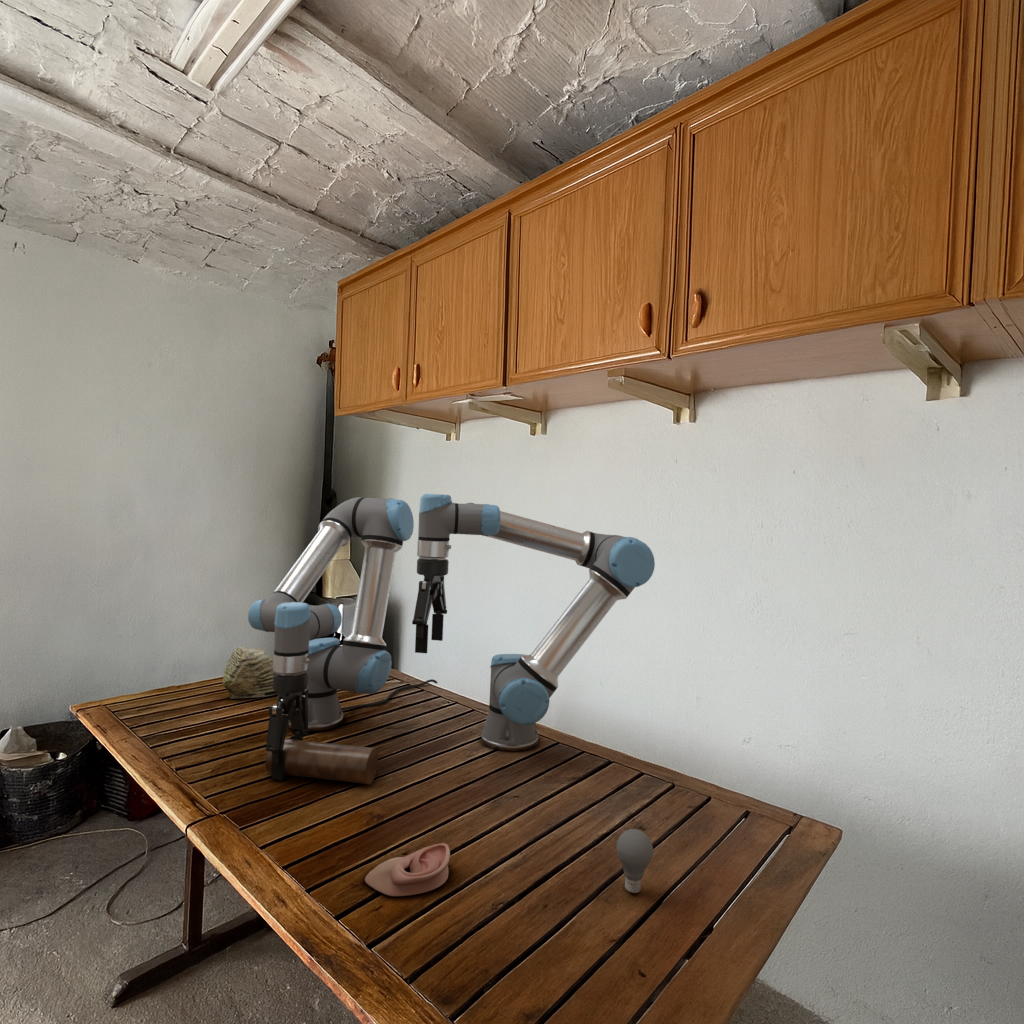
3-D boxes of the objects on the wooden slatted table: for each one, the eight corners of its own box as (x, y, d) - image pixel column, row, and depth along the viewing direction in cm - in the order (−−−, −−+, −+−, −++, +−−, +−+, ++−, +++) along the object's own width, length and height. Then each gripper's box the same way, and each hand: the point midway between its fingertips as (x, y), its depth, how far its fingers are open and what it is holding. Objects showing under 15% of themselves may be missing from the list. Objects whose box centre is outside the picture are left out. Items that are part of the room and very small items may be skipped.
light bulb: (610, 879, 108) (613, 822, 108) (644, 879, 109) (647, 822, 109) (619, 902, 102) (622, 840, 102) (655, 901, 103) (658, 840, 103)
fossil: (218, 695, 195) (220, 647, 195) (278, 685, 208) (279, 640, 207) (228, 703, 189) (230, 653, 188) (289, 692, 201) (290, 645, 201)
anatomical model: (357, 866, 102) (385, 830, 114) (356, 890, 102) (384, 852, 114) (435, 879, 100) (456, 841, 111) (434, 904, 100) (455, 864, 111)
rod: (264, 778, 141) (265, 745, 141) (281, 764, 149) (282, 732, 148) (364, 790, 138) (366, 756, 137) (377, 775, 145) (378, 743, 145)
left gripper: (283, 685, 133) (279, 793, 134) (326, 661, 153) (322, 755, 154) (250, 682, 134) (246, 789, 135) (297, 659, 155) (293, 752, 155)
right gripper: (434, 563, 139) (430, 659, 139) (460, 554, 164) (456, 636, 164) (401, 561, 140) (397, 657, 141) (432, 553, 165) (428, 634, 165)
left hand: (286, 771), depth 144 cm, fingers closed on rod, 8 cm apart
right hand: (429, 646), depth 152 cm, fingers open, 13 cm apart
